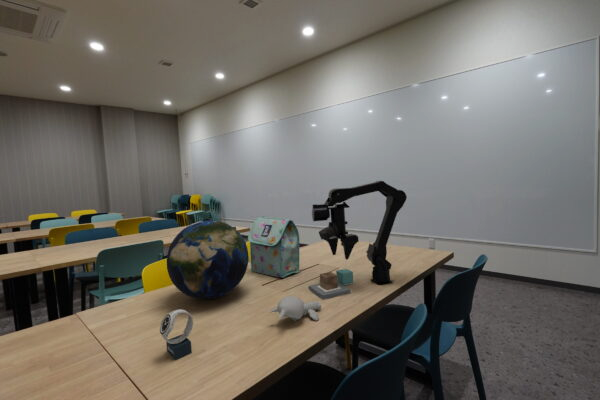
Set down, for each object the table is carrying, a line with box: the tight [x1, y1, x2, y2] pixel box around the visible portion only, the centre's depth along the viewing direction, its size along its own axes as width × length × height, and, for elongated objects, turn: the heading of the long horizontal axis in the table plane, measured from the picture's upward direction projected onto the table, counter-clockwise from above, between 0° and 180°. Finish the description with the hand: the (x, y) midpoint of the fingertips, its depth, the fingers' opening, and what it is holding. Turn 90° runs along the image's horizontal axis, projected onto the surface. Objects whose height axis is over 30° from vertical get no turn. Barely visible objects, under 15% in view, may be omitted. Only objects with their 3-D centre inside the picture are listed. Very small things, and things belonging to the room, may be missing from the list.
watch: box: [159, 308, 194, 361], centre depth 77 cm, size 6×8×11 cm
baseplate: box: [308, 282, 352, 300], centre depth 115 cm, size 12×12×2 cm
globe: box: [166, 219, 250, 301], centre depth 114 cm, size 30×30×30 cm
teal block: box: [335, 268, 354, 286], centre depth 124 cm, size 5×5×5 cm
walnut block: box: [319, 271, 338, 290], centre depth 115 cm, size 5×5×5 cm
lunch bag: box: [247, 216, 301, 278], centre depth 142 cm, size 23×16×27 cm
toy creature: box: [267, 295, 322, 322], centre depth 93 cm, size 13×7×20 cm
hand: (340, 257), depth 120 cm, fingers open, 9 cm apart
